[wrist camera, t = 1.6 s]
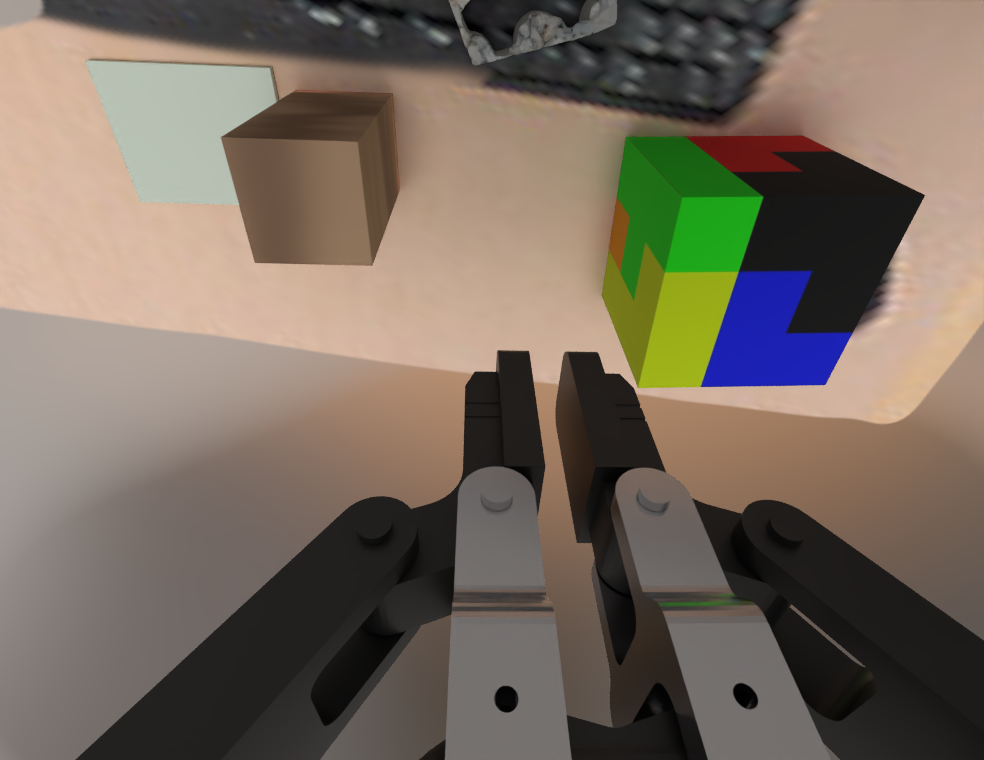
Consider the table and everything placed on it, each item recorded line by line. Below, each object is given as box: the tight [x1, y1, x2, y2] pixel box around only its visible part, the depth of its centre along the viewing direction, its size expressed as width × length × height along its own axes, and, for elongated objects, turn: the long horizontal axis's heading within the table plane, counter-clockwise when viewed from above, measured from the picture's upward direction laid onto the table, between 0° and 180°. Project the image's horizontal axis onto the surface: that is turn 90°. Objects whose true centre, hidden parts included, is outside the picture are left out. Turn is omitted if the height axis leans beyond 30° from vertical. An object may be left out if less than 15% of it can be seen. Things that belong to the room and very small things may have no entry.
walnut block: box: [221, 90, 400, 266], centre depth 24 cm, size 5×5×10 cm
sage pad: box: [85, 60, 279, 205], centre depth 28 cm, size 9×7×1 cm
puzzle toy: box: [602, 136, 925, 388], centre depth 28 cm, size 10×10×10 cm
